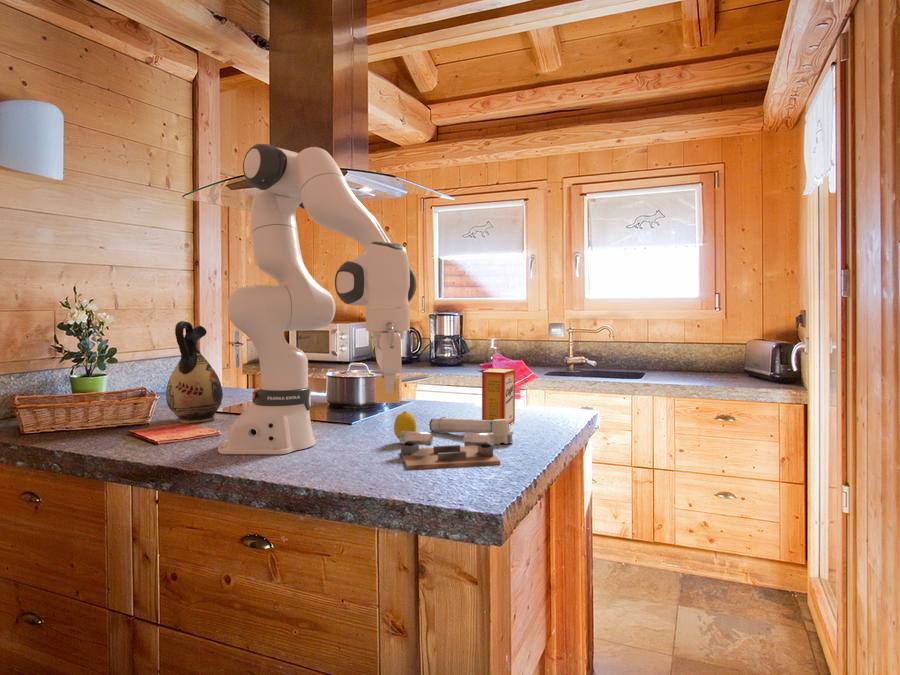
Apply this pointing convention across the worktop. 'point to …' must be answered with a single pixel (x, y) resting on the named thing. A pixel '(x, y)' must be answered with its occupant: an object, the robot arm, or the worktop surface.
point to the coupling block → (381, 395)
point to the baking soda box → (498, 394)
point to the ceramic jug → (193, 380)
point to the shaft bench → (447, 457)
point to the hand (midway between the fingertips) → (388, 390)
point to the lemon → (404, 423)
